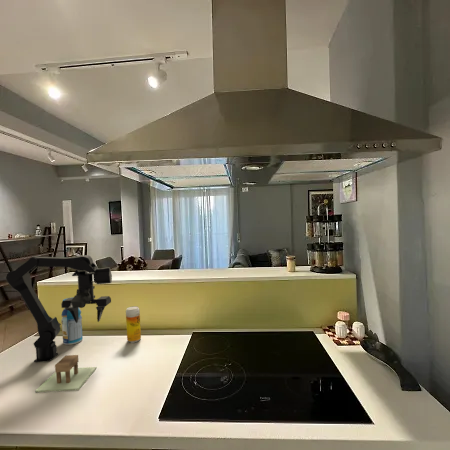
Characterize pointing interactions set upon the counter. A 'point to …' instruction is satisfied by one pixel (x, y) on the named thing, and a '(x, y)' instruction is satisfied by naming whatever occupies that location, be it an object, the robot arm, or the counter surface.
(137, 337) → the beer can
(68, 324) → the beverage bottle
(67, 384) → the sage board
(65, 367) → the walnut stool
